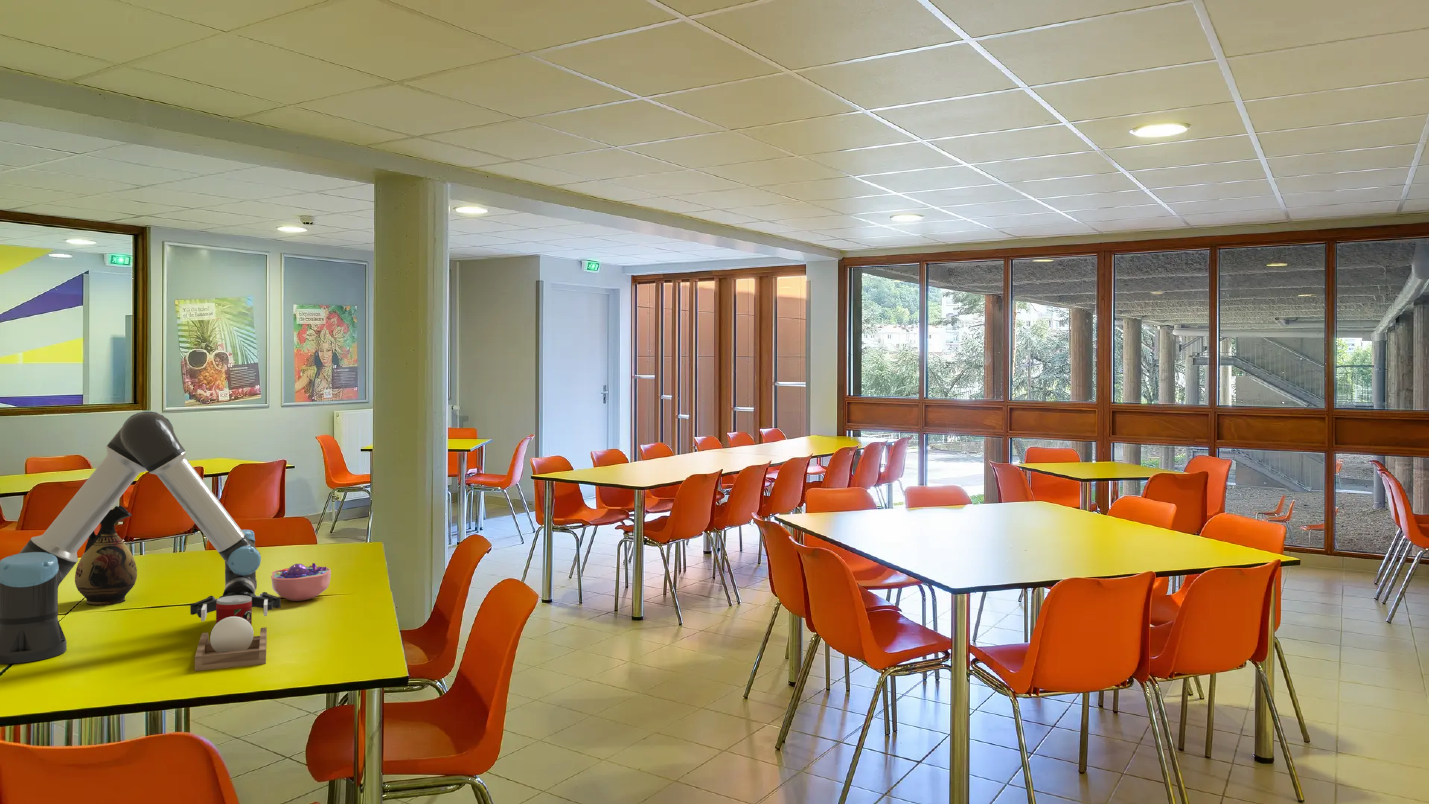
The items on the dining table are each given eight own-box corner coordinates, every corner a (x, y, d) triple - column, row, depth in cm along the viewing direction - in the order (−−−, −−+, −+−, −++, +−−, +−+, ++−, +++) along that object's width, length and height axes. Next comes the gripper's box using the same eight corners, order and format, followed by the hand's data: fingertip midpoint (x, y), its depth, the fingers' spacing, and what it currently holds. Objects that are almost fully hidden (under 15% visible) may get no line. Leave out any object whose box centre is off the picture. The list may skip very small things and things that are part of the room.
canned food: (237, 648, 221) (237, 603, 221) (208, 646, 223) (208, 601, 222) (258, 640, 229) (259, 596, 228) (230, 638, 230) (231, 594, 230)
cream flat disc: (253, 653, 217) (253, 615, 217) (209, 658, 213) (210, 619, 213) (253, 652, 218) (253, 614, 218) (210, 656, 214) (210, 618, 214)
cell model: (341, 591, 289) (341, 555, 289) (316, 606, 269) (316, 568, 269) (287, 591, 289) (287, 555, 289) (257, 606, 269) (257, 568, 269)
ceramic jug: (142, 594, 282) (142, 497, 282) (130, 605, 268) (130, 503, 268) (76, 598, 276) (77, 498, 276) (61, 610, 262) (61, 505, 261)
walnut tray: (265, 663, 213) (265, 649, 213) (194, 671, 207) (194, 656, 207) (266, 639, 233) (266, 627, 233) (201, 646, 227) (201, 633, 227)
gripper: (290, 604, 250) (290, 623, 231) (185, 613, 239) (175, 633, 220) (290, 577, 250) (290, 593, 230) (185, 584, 239) (175, 602, 220)
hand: (234, 613), depth 225 cm, fingers open, 13 cm apart
